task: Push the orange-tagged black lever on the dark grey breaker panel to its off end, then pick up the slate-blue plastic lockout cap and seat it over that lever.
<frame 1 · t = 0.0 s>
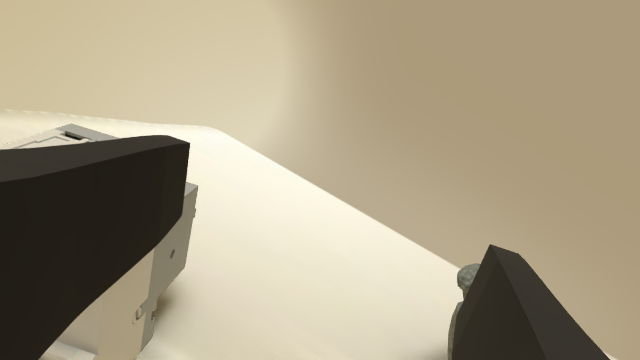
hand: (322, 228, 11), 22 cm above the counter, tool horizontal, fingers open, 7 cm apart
circuit breaker: (98, 332, 35), on the counter
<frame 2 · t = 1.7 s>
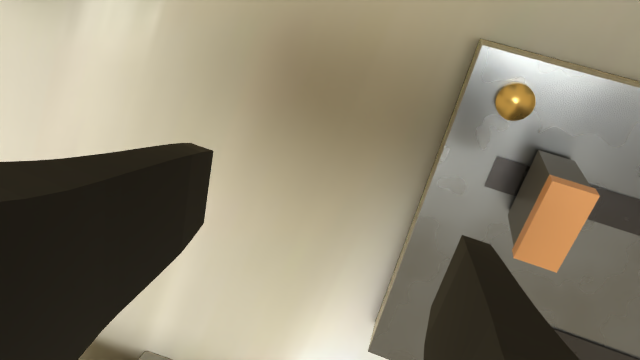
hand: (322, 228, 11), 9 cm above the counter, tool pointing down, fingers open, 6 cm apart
breaker panel: (561, 249, 19), on the counter
tagged lever: (546, 207, 15), point 4 cm above the counter, slide at 0.0 cm
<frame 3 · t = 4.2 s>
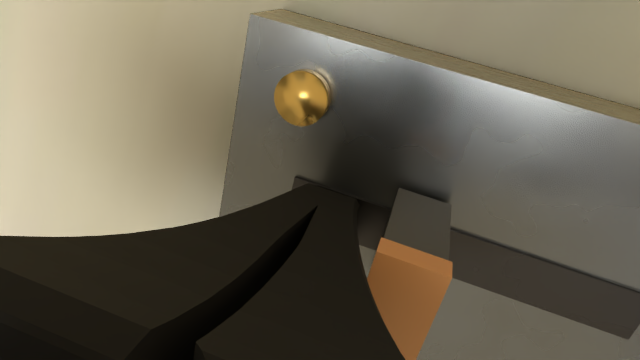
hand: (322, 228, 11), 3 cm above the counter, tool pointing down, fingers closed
breaker panel: (421, 299, 14), on the counter
tagged lever: (400, 278, 10), point 4 cm above the counter, slide at 1.3 cm, touching gripper
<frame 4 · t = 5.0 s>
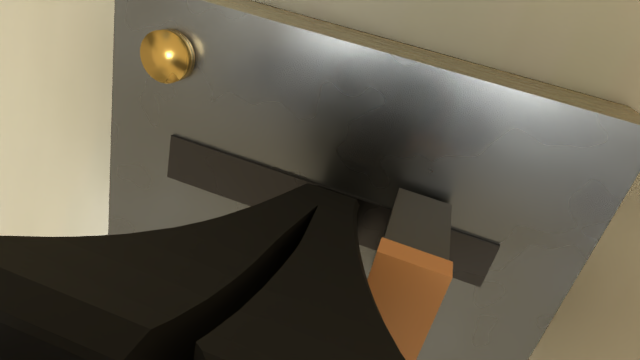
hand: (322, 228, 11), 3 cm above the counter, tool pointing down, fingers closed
breaker panel: (317, 260, 15), on the counter
tagged lever: (400, 278, 10), point 4 cm above the counter, slide at 4.7 cm, touching gripper
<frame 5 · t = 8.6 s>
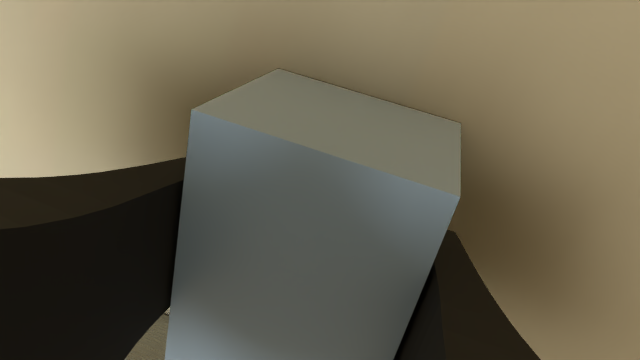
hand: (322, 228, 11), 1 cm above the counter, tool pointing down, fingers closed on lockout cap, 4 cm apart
lockout cap: (336, 202, 12), on the counter, touching gripper
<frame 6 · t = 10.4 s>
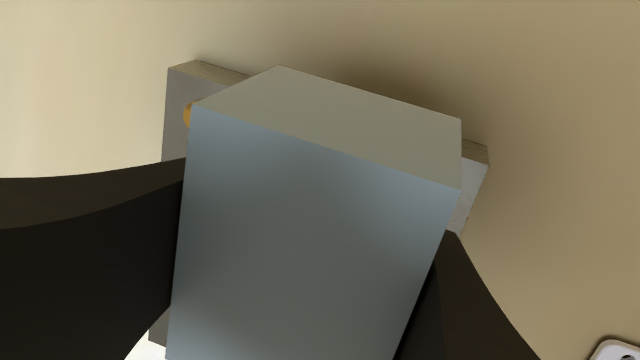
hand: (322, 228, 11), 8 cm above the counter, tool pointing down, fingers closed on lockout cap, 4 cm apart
breaker panel: (298, 246, 21), on the counter
lockout cap: (337, 199, 12), point 7 cm above the counter, touching gripper
when the fingers open (4 cm above the counter, at t = 12.2 s): lockout cap stays where it is, resting on breaker panel.
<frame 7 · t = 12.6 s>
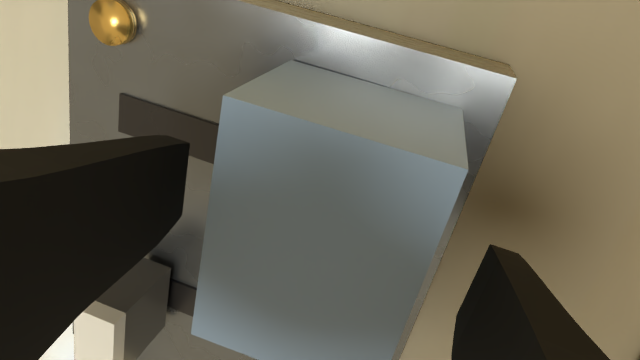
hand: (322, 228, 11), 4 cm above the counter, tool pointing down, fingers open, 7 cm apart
breaker panel: (259, 212, 16), on the counter
plain lever: (125, 318, 15), point 4 cm above the counter, slide at 0.0 cm
lockout cap: (346, 185, 13), point 2 cm above the counter, touching breaker panel
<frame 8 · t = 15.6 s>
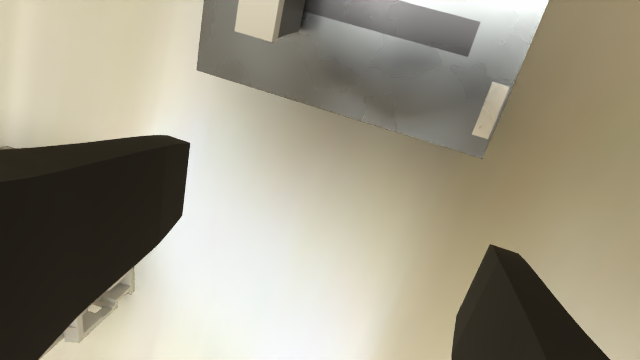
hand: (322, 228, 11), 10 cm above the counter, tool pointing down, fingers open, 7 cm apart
circuit breaker: (31, 206, 28), on the counter
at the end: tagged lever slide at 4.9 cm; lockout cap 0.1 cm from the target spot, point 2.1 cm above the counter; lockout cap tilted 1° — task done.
